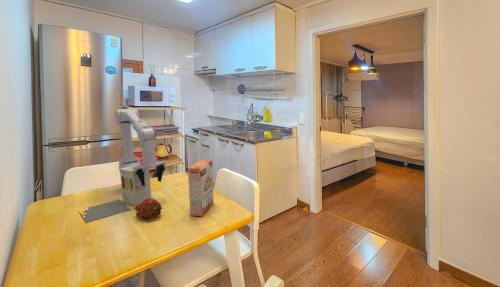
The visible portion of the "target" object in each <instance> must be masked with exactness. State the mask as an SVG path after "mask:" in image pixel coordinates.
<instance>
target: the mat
mask: <svg viewBox="0 0 500 287" xmlns="http://www.w3.org/2000/svg"><path fill="white" fill-rule="evenodd" d="M87 208H88V210H85V212H84V211H83V213H87V214H83V215H84V216H85V218H84V217H83V218H82V219H83V221H84V222H85V224H87V223H91V222H95V221H98V220H101V219H104V218H108V217H111V216H115V215H118V214H121V213H124V212H129V211H131V208H129V207H128V205H127V204H126V203H123V201H121V200H120V199H116V200H112V201H109V202H108V201H107V202H104V203H100V204H98V205H92V206H90V207H87ZM89 208H90V209H89ZM83 215H82V216H83ZM82 216H81V217H82Z"/></svg>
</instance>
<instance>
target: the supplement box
mask: <svg viewBox="0 0 500 287" xmlns="http://www.w3.org/2000/svg"><path fill="white" fill-rule="evenodd" d="M134 166H138V165H132V166H129V167H125V168H121V169H120V171H119V174H120V183H121V184H120V185H121V193H122V194H121V195H122V202H123V203H124V204H126V205H131V206H134V207H136V206H137V205H139V204H140V203H142V202H143V201H144V199H152V190H151V188H152V187H151V178H150V168H148V169H143V172H144V181H145V186H142V185H141V181H140V179H139V177H138V175H137V174H136V172H134V171H133V167H134Z"/></svg>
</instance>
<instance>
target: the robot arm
mask: <svg viewBox="0 0 500 287" xmlns="http://www.w3.org/2000/svg"><path fill="white" fill-rule="evenodd" d="M114 116H115V118H114V119H115V123H116V125H117V126H119V128H120V134H121V140H122V141H121V142H122V149H123V150H122V151H123V157H121V158H120V159H119V161H118V169H119V172H120V169H121V168H125V167H129V166H132V165H138V166H134V167H133V171H134V172H136V174H137V175H138V177H139V179H140V181H141V185H142V186H145V181H144V172H143V169H148V168H149V169H152V168H155V169H156V170H155V171H156V174H157V182H162V178H163V174H164V172H165V169H166V166H167V161H166V160H160V161H157V157H156V156H157V155H156V144H155V142H156V140H157V132H156V129H155V127H154V126H149V125H148V124H147V122H146V121H144V120H143V119H140V118H139V116H140V114H139V111H138V108H136V107H135V108H121V109H119V108H117V109H116V110H115V111H114ZM132 128H133V130H134V131H135V132H136V134H137V137H138V140H139V145H140V148H141V156H142V157H141V158H142V163H141V161H140V158H139V157H137V156H136V155H135V153H134V145H133V135H132Z"/></svg>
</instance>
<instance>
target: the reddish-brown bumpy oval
mask: <svg viewBox="0 0 500 287" xmlns="http://www.w3.org/2000/svg"><path fill="white" fill-rule="evenodd" d="M162 209H163V207H162V204H161V203H160V202H159V201H157V200H156V199H154V198H151V199H144V201H143V202H142V203H140V204H139V205H137V206H134V211H136V212H135V215H136V217H141V216H142V218H143V220H146V219H148V218H149V219H154V218H156V216H160V215H161V214H162V211H161V210H162Z"/></svg>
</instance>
